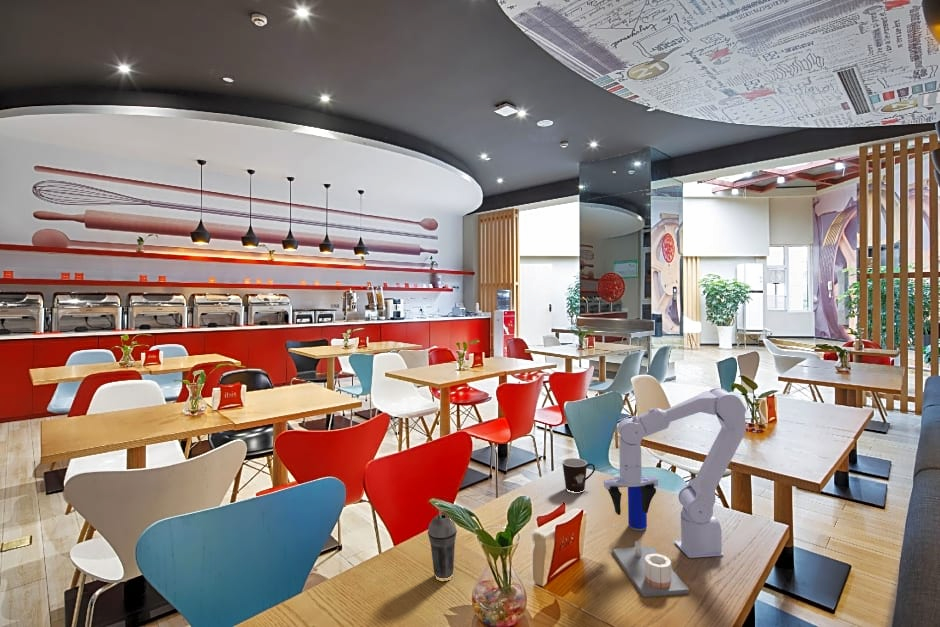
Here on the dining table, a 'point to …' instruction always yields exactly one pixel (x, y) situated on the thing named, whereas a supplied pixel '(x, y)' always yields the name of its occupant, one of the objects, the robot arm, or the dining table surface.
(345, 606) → the dining table surface
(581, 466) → the coffee mug
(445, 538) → the beverage cup
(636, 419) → the robot arm
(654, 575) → the sleeve
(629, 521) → the beverage can
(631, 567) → the pin board
